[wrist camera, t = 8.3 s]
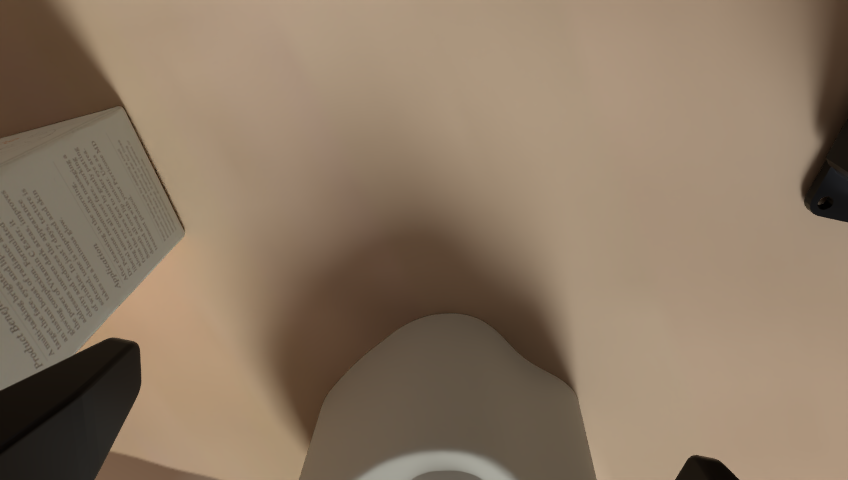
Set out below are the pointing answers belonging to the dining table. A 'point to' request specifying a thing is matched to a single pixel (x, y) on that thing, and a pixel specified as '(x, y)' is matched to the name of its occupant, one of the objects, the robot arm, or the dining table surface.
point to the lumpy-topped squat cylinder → (448, 412)
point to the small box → (74, 235)
